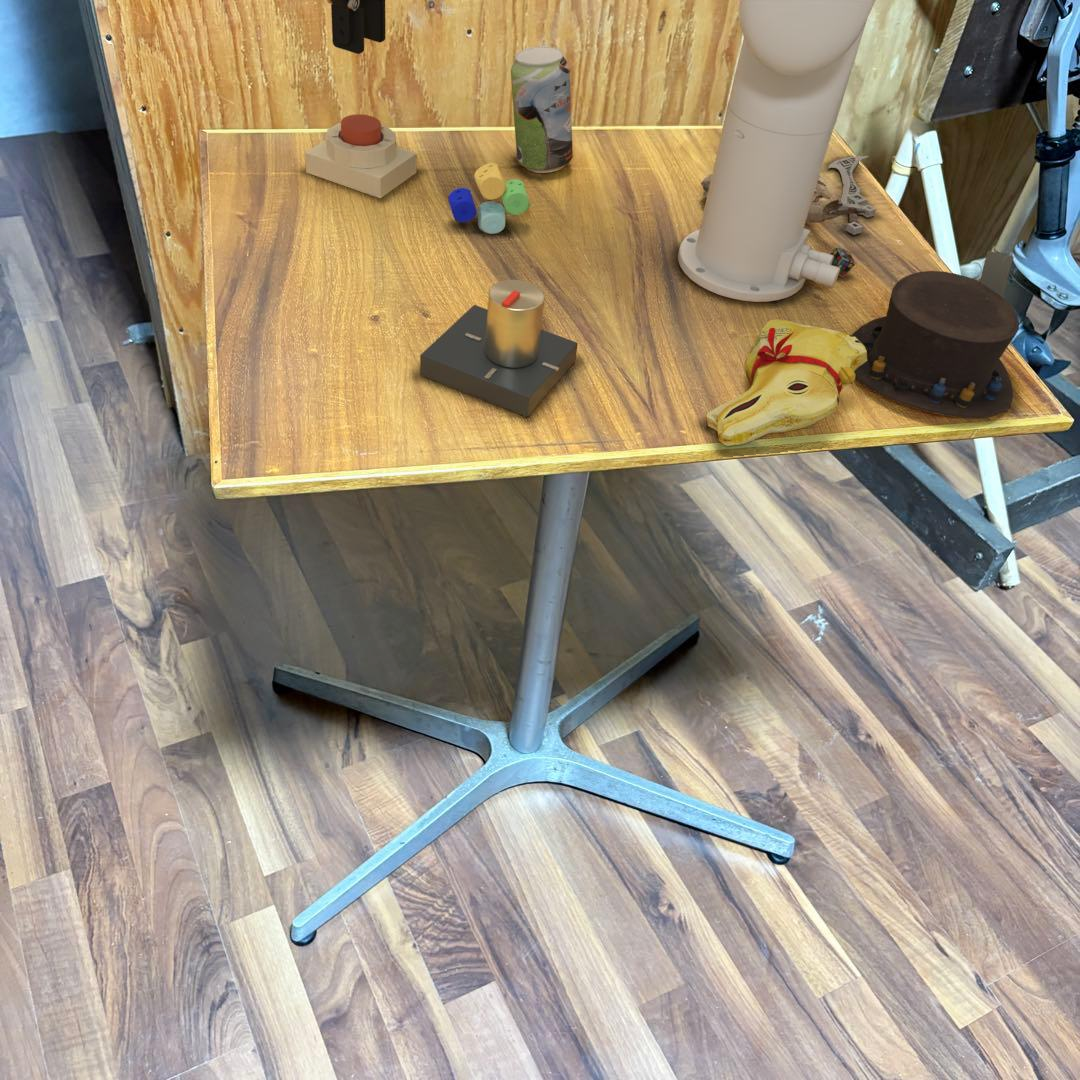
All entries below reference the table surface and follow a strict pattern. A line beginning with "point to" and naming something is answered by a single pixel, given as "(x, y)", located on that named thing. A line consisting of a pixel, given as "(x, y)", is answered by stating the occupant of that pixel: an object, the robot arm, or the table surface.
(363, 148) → the button base
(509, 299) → the temp dial
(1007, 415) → the table surface
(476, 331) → the dial panel
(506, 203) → the dice
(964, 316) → the top hat
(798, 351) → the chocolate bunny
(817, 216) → the prawn
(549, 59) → the beverage can
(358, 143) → the red push button
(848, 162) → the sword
